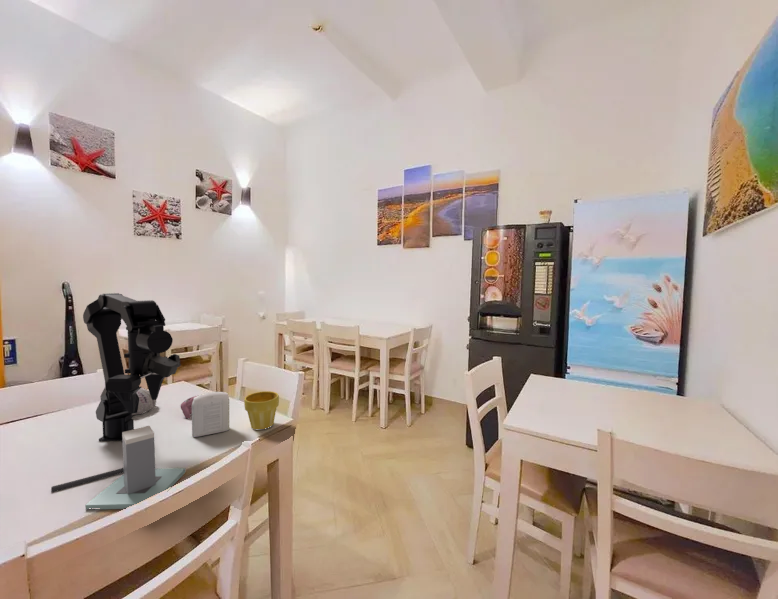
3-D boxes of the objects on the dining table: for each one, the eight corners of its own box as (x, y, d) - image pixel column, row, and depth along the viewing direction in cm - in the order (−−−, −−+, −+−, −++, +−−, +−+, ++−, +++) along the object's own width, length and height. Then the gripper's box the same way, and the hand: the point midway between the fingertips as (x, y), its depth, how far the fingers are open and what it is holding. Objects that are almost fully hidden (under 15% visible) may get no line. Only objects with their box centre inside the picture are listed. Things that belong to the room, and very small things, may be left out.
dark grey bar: (51, 493, 75) (51, 488, 75) (52, 490, 76) (52, 485, 76) (134, 470, 84) (134, 466, 84) (134, 468, 85) (134, 464, 85)
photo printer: (228, 425, 109) (228, 388, 108) (230, 431, 105) (230, 391, 105) (191, 433, 103) (190, 393, 102) (192, 439, 100) (191, 398, 99)
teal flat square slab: (85, 509, 69) (85, 504, 69) (130, 473, 82) (130, 468, 82) (151, 508, 70) (151, 503, 70) (185, 472, 83) (185, 467, 83)
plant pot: (237, 429, 106) (236, 399, 106) (260, 417, 116) (260, 389, 115) (263, 435, 103) (263, 404, 102) (285, 422, 112) (285, 393, 112)
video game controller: (211, 412, 123) (206, 393, 124) (216, 409, 121) (212, 390, 122) (181, 421, 115) (177, 401, 116) (187, 419, 112) (182, 398, 114)
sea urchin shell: (157, 401, 128) (157, 381, 128) (155, 414, 117) (155, 391, 116) (113, 408, 122) (112, 386, 121) (106, 422, 110) (105, 398, 109)
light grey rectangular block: (124, 484, 76) (122, 432, 75) (150, 475, 80) (149, 425, 79) (127, 494, 73) (125, 440, 72) (155, 484, 76) (154, 432, 75)
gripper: (150, 356, 81) (152, 420, 82) (191, 341, 100) (192, 393, 101) (101, 356, 80) (104, 420, 81) (152, 341, 99) (153, 393, 100)
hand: (143, 405), depth 91 cm, fingers open, 9 cm apart
